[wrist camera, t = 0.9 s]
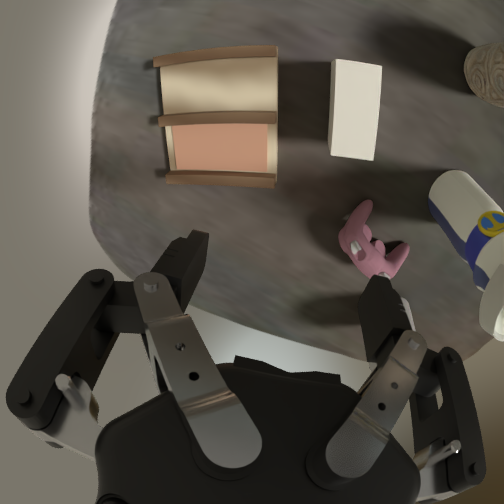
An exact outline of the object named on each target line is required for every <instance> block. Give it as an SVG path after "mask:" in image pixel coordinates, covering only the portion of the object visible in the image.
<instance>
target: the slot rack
mask: <svg viewBox="0 0 504 504" xmlns="http://www.w3.org/2000/svg"><path fill="white" fill-rule="evenodd" d="M153 66H154V67H160V73H161V86H162V99H163V110H164V115H162V116H159V117H158V123H159V127H164V126H165V129H166V138H167V146H168V154H169V162H170V170H171V171H169V172H168V173H167V174H166V175H165V176H166V183H167V184H197V185H224V186H244V187H260V188H275V185H276V182H277V151H278V47H277V46H275V45H254V46H233V47H220V48H209V49H201V50H193V51H186V52H179V53H173V54H168V55H162V56H157V57H153Z"/></svg>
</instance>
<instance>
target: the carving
mask: <svg viewBox="0 0 504 504" xmlns="http://www.w3.org/2000/svg"><path fill="white" fill-rule="evenodd" d="M464 73H465V77H466V80H467V83H468V85H469V87H470V89H471V90H472V91H473V92H474V93H475V95H477V96H478V97H479V98H481V99H482V100H484V101H486V102H488V103H491V104H493V105H496V106H498V107H503V108H504V42H502V43H490V44H486V45H482V46H479V47H476V48H474V49H472V50H471V51H470V52H469V53H468V55H467V56H466V59H465V62H464Z"/></svg>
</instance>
